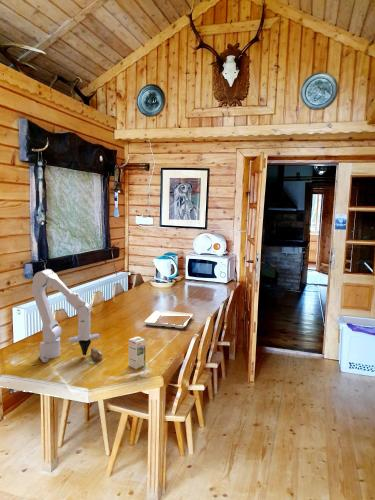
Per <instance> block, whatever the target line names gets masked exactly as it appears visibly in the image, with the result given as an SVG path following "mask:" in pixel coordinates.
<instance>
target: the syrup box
mask: <svg viewBox="0 0 375 500" xmlns="http://www.w3.org/2000/svg"><path fill="white" fill-rule="evenodd" d="M146 340H147V339H145V338H144V337H141V336H135V337H133V338H129V339H128V366H129V367H131V368H132V369H135V370H138V369H141V368H143V367H145V366H146V345H147V344H146V342H147V341H146Z"/></svg>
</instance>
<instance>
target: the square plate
mask: <svg viewBox="0 0 375 500" xmlns="http://www.w3.org/2000/svg"><path fill="white" fill-rule="evenodd" d="M160 315H161V316H190V318H189V319H188V320H187V321H186V322H185V323H184V325H183V326H182V325H175V324H168V323H155V322H156V321H157V319H158V318H159V316H160ZM193 316H194V314H193V313H187V312H180V311H171V310H155V311H154V312H152V313H151V315H149V316H148V317H147V318H146V319H145V320H144V322H143V323H144V324H145V325H147V326H154V327H161V326H165V327H164V328H171V327H175V328H174V329H184V327H186V326H187V325H188V322H190V321H189V320H190V319H191V318H192V317H193Z"/></svg>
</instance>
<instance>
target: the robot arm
mask: <svg viewBox="0 0 375 500" xmlns="http://www.w3.org/2000/svg"><path fill="white" fill-rule="evenodd" d="M31 285H32V286H31V292H32V296H33V299H34V301H35V304H36V306H37V310H38V313H39V316H40V318H41V321H42V326H41V332H42V335H41V336H42V340H43V341H41V342H39V345H38V346H39V347H38V348H39V350H38V351H39V353H38V354H39V356H38V357H39V359H40V360H41V361H42V363H48V362H50V359H56V358H57V357H60V356H61V337H60V336H61V335H62V333H63V328H62V327H61V326H60V325H59V323H58V321H57V320H55V318H54V314H53V312H52V308H51V307H50V302H49V300H48V297H47V294H46V291H45V289H46V288H47V286H49V287H54V288H55V289H56V290H57V291H59V292H60V294H62V295H63V296H64V297H65V299H66V302H67V303H68V304H69V305H70V307H72V308H73V309H74V310H75V311H76V314H77V316H78V324H77V325H78V332H77V333H78V335H76V336H72V337H69V338H68V342H69V344H72V343H76V342H78V345H79V346H80V349H81V353H82V355H83V356H86V355H87V353H88V350H89V347H90V345H91V343H92V340H96V339H98V340H99V339H100V334H99V333H94V334H91V325H92V323H91V312H93V311H92V310H93V306H92V304H91V303H90V302H87V301H86V300H84V299H83V298H82V297H81V296H80V294H79V293H78V292H74V291H71V290H70V289H69V288H68V286H66V284H65V283H64V282H63V281H62V280H61V279H60V278H59V276H58V274H57V273H56V272H54V271H53V270H52V269H50V268H46V269H44V270H41V271H38V272H36V273H35V274H34V276H33V277H32V284H31Z"/></svg>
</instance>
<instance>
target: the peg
mask: <svg viewBox="0 0 375 500" xmlns="http://www.w3.org/2000/svg"><path fill="white" fill-rule="evenodd" d="M90 355H91V356H92V361H93V362H101V361H102V360H103V350H102V349H96V348H95V347H94V346H93V347H91V348H90Z"/></svg>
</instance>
